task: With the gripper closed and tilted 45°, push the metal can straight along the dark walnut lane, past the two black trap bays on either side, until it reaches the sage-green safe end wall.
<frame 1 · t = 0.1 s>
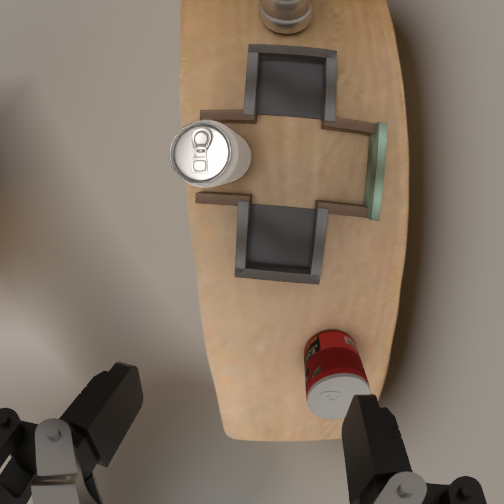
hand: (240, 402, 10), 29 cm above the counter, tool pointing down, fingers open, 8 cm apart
canned food: (329, 349, 42), on the counter
can: (226, 157, 36), on the counter
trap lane: (286, 161, 35), on the counter
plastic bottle: (285, 20, 30), on the counter
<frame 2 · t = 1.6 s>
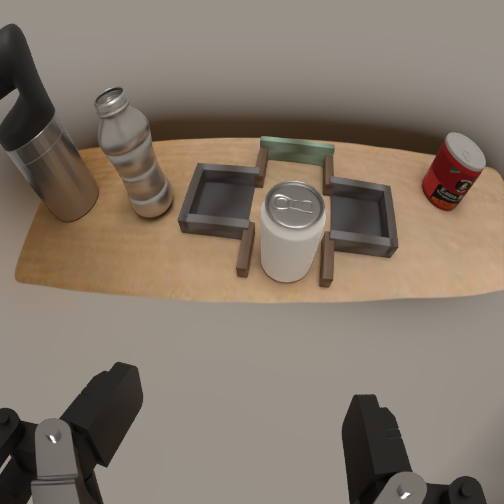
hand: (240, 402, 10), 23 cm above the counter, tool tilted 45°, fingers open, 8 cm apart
canned food: (439, 193, 43), on the counter
can: (285, 261, 38), on the counter
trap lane: (290, 212, 41), on the counter
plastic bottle: (156, 205, 43), on the counter
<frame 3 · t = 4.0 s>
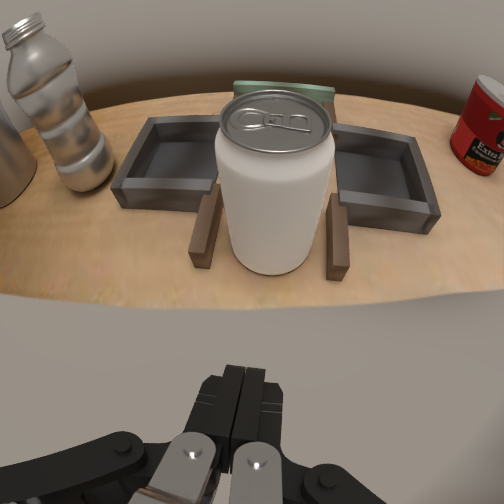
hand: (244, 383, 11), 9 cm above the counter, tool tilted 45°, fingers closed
canned food: (471, 156, 30), on the counter
can: (271, 242, 24), on the counter
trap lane: (277, 173, 28), on the counter
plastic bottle: (94, 177, 29), on the counter
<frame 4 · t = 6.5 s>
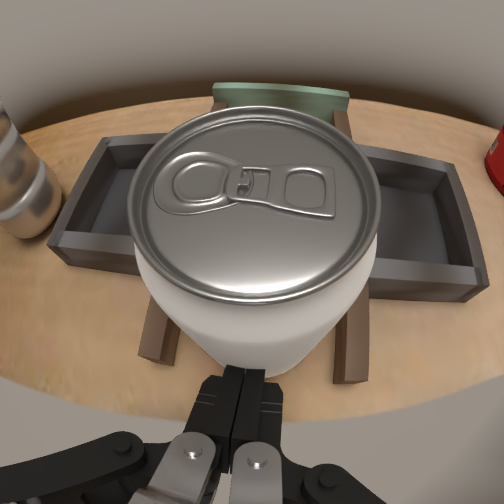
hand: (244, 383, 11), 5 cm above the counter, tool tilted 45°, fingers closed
can: (259, 324, 17), on the counter, touching gripper
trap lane: (270, 217, 20), on the counter
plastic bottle: (43, 217, 22), on the counter
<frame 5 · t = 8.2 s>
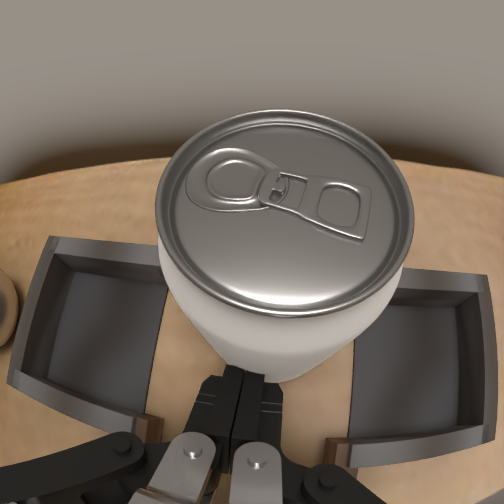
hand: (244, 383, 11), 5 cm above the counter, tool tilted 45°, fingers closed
can: (271, 328, 17), on the counter, touching gripper
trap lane: (252, 363, 16), on the counter
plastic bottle: (4, 318, 17), on the counter
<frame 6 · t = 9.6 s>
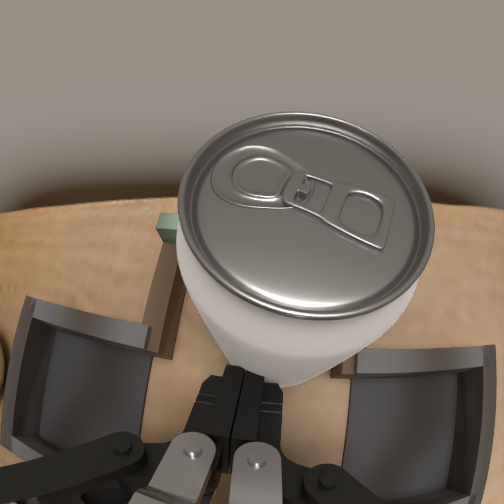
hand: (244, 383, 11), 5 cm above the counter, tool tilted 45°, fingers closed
can: (278, 333, 17), on the counter, touching gripper, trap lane
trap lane: (241, 440, 14), on the counter
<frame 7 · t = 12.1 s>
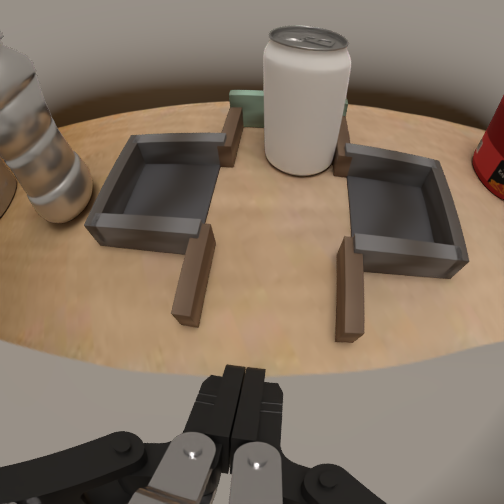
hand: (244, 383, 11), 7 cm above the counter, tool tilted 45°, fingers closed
canned food: (493, 177, 26), on the counter
can: (298, 155, 27), on the counter
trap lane: (280, 205, 24), on the counter
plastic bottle: (73, 205, 25), on the counter
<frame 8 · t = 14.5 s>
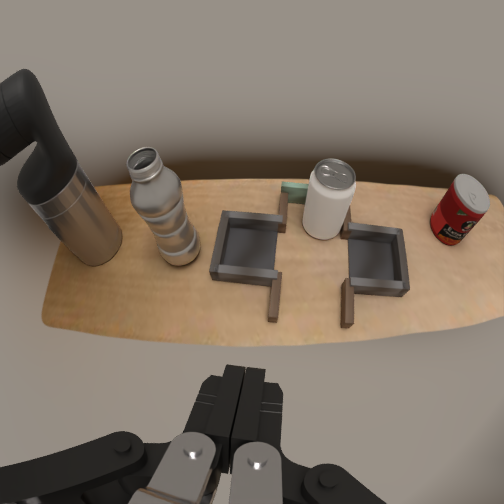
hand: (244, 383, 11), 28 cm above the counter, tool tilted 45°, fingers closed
canned food: (445, 228, 47), on the counter
can: (321, 224, 48), on the counter
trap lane: (312, 258, 45), on the counter
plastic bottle: (183, 252, 46), on the counter
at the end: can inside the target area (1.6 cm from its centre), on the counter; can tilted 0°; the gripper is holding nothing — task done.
